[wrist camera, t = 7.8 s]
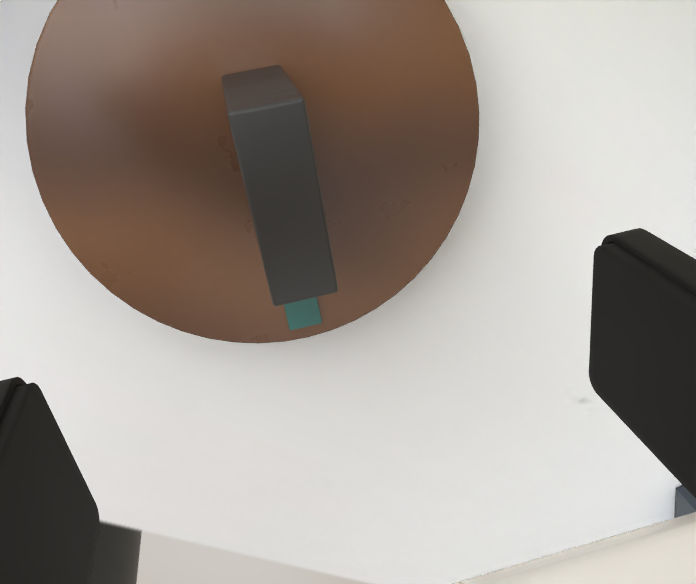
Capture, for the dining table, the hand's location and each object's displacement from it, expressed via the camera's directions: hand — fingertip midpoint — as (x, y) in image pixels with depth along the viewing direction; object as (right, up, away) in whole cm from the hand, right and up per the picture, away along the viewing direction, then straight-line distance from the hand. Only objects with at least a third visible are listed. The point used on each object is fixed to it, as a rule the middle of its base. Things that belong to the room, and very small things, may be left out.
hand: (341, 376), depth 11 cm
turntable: (-3, +6, +10) cm, 12 cm away
